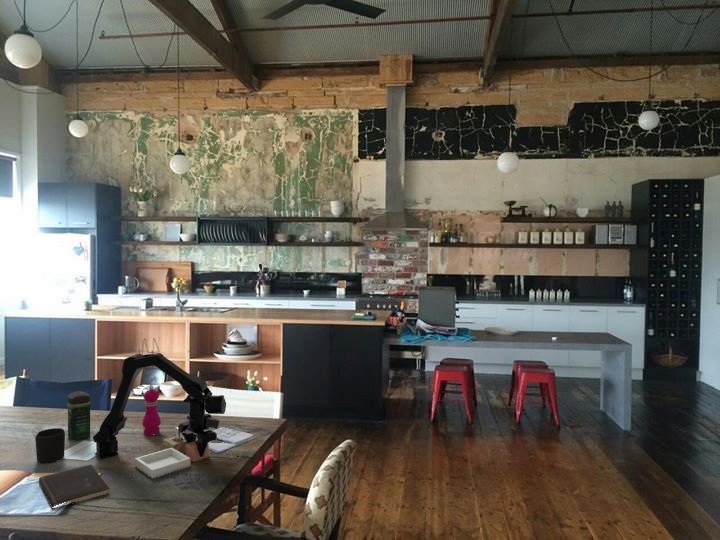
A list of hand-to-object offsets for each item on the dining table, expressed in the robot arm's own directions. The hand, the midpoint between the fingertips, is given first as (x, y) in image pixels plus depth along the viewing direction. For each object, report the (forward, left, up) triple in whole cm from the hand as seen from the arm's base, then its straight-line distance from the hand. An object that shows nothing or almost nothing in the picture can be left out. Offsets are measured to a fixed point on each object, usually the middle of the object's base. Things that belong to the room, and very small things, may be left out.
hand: (197, 454), depth 194 cm
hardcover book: (-41, +6, -2) cm, 41 cm away
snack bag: (+15, +8, -2) cm, 17 cm away
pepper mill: (-1, +36, -1) cm, 36 cm away
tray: (-13, +1, -1) cm, 13 cm away
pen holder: (-39, +36, -1) cm, 53 cm away
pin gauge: (-2, +11, 0) cm, 11 cm away
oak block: (-2, +11, -1) cm, 11 cm away
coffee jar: (-24, +52, -1) cm, 57 cm away
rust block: (0, 0, -1) cm, 1 cm away
